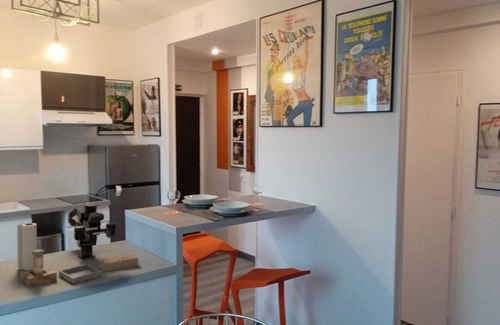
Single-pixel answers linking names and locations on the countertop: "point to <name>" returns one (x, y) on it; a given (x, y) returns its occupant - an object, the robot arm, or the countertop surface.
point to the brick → (119, 262)
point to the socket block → (38, 277)
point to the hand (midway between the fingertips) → (99, 238)
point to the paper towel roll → (26, 245)
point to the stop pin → (37, 262)
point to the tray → (79, 273)
